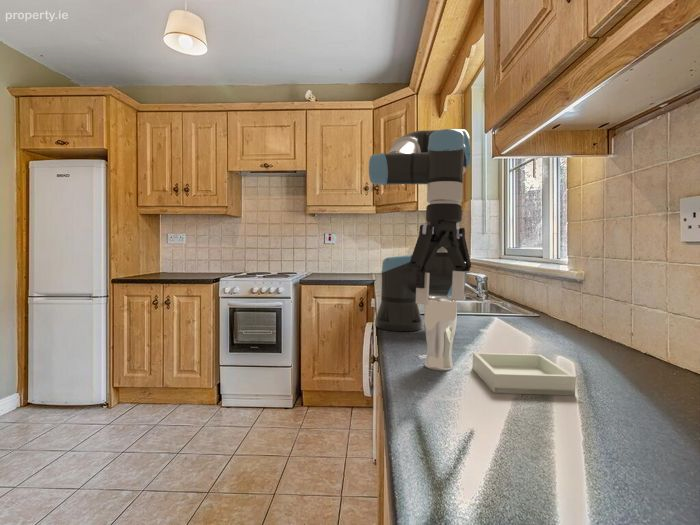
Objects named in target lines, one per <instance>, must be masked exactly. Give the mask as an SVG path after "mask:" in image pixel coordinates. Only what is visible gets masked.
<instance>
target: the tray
mask: <svg viewBox="0 0 700 525" xmlns="http://www.w3.org/2000/svg"><path fill="white" fill-rule="evenodd" d="M472 370H473V371H474V372H475V373H476V374H477V375H478V376H479V378H480V379H481V380H482V381H483V383H485V384H486V386H487V387H488V388H489V389H490V390H491V391H492V392H493V393H494V394H511V395H512V394H513V395H514V394H517V395H518V394H519V395H541V396H542V395H544V396H545V395H546V396H547V395H548V396H576V386H577V385H576V384H577V383H576V382H577V376H576V375H574V374H573V373H571V372H569V371H568V370H567V369H565V368H563V367H562V366H560V365H558V364H556V363H555V362H553V361H552V360H550V359H548V358H547V357H545V356H544V355H542V354H533V353H532V354H531V353H530V354H529V353H497V352H495V353H494V352H472Z"/></svg>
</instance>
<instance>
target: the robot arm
mask: <svg viewBox="0 0 700 525" xmlns="http://www.w3.org/2000/svg"><path fill="white" fill-rule="evenodd" d="M471 152H472V151H471V141H470V135H469V133H468V131H467V130H466V129H460V128H459V129H458V128H457V129H456V128H448V129H447V128H446V129H435V130H433V129H432V130H431V129H430V130H417V131H412V132H409V133H407V134H404V135H401V136H400V137H398V138H397V139H396V140H395V141H393V143H392V145H391V147H390V149H389V151H388V152H387V153H383V152H381V153H374V154H372V155H371V156H370V158H369V161H368V177H369V181H370V183H371V184H372V185H381V186H388V185H389V186H391V185H427V191H426V202H427V203H428V204H426V206H425V207H426V208H425V211H426V212H425V220H426V222H428V223H429V224H420V225H419V232H418V233H419V234H418V237H417V240H416V244H415V245H414V249H413V251H412V254H407V255H397V256H389V257H386V258H384V259H383V261H382V266H381V290H380V292H381V297H380V298H381V299H380V305H379V307H378V310H377V313H376V316H375V321H374V323H375V324H374V325H375V327H376V328H378V329H381V330H385V331H391V332H392V331H393V332H414V331H419V330H422V329H423V319H422V316H421V312H420V308H419V305H424V306H425V305H429V297H445V298H453V299H456V301H465V286H466V281H467V275H468V274H467V273H468V272H469V271H470V270H471V268H472V262H471V259H470V254H469V250H468V244H467V240H466V228H465V227H460V223H461V222H462V219H463V218H462V216H463V212H462V211H463V206H462V205H461V203H462V202H463V194H464V192H463V190H464V189H463V187H464V186H463V184H464V183H463V182H464V181H463V178H464V174H465V173H466V171H467V167H469V166H471V164H472V163H471V162H472V154H471ZM418 304H419V305H418Z"/></svg>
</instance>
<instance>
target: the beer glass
mask: <svg viewBox="0 0 700 525" xmlns="http://www.w3.org/2000/svg"><path fill="white" fill-rule="evenodd" d="M457 314H458V312H457V300H456V299H453V298H452V297H440V296H429V305H424V313H423V317H424V318H423V325H424V333H425V341H426V356H425V361H424V366H425V367H426V369H430V370H433V371H441V372H442V371H445V372H446V371H451V370H453V367H454V366H453V365H454V364H453V357H452V348H453V343H454V339H455V333H456V328H457V321H458V319H457V318H458V316H457Z"/></svg>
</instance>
